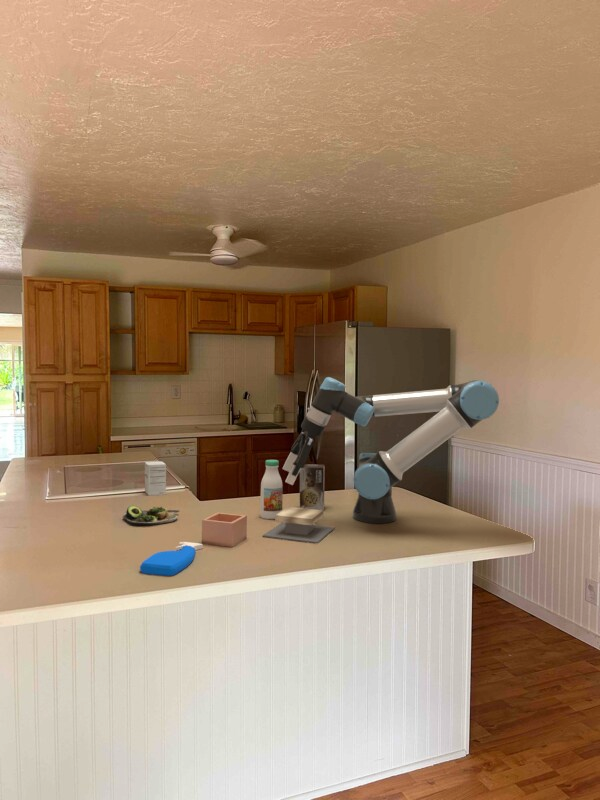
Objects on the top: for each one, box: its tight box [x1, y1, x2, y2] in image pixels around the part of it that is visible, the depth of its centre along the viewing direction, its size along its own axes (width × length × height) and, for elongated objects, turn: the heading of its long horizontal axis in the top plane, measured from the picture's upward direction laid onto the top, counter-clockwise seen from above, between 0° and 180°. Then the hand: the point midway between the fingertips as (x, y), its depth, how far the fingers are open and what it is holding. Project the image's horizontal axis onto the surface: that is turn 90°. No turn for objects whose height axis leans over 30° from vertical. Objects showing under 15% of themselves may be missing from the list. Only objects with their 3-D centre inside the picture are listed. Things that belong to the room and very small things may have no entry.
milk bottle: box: [259, 459, 284, 520], centre depth 211 cm, size 8×8×20 cm
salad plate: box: [122, 505, 180, 527], centre depth 206 cm, size 19×18×5 cm
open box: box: [201, 512, 248, 548], centre depth 182 cm, size 10×10×7 cm
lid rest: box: [261, 522, 336, 544], centre depth 192 cm, size 18×18×4 cm
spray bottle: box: [139, 541, 204, 577], centre depth 164 cm, size 3×11×24 cm
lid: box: [274, 506, 325, 525], centre depth 192 cm, size 12×12×2 cm
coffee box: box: [299, 463, 326, 511], centre depth 225 cm, size 9×6×16 cm
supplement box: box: [144, 460, 167, 496], centre depth 246 cm, size 7×7×13 cm
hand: (287, 476), depth 204 cm, fingers open, 13 cm apart
